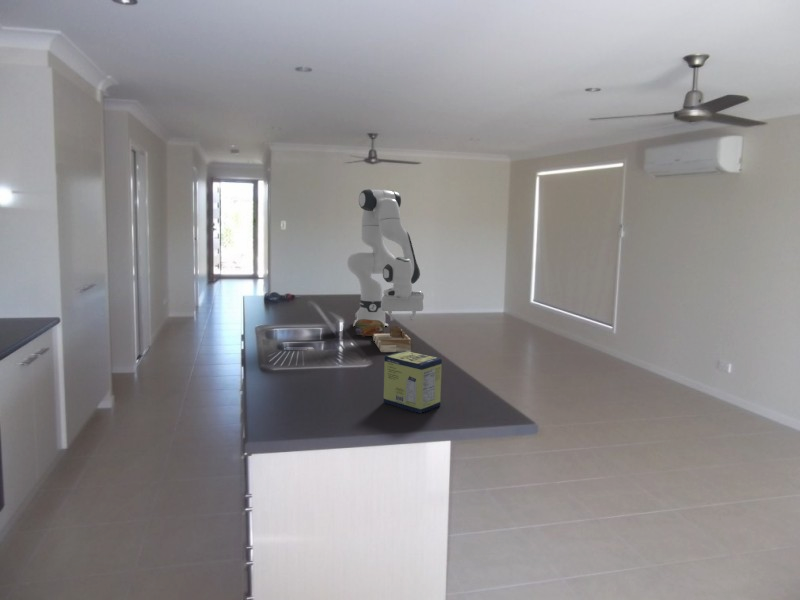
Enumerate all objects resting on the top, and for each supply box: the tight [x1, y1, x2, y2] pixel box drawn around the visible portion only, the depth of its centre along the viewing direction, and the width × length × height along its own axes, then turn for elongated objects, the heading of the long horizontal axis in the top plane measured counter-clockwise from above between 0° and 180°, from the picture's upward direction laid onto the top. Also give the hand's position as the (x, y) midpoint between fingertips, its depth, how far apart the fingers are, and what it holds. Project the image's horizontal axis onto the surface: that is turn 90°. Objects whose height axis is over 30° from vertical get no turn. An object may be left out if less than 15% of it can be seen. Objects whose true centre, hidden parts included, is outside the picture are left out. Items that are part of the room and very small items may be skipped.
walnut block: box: [389, 325, 402, 337], centre depth 273 cm, size 4×4×4 cm
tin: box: [353, 319, 386, 338], centre depth 285 cm, size 15×3×8 cm, turn 73°
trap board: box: [372, 328, 412, 353], centre depth 266 cm, size 24×13×6 cm, turn 11°
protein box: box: [383, 351, 443, 414], centre depth 185 cm, size 10×16×16 cm
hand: (401, 320), depth 280 cm, fingers open, 8 cm apart
